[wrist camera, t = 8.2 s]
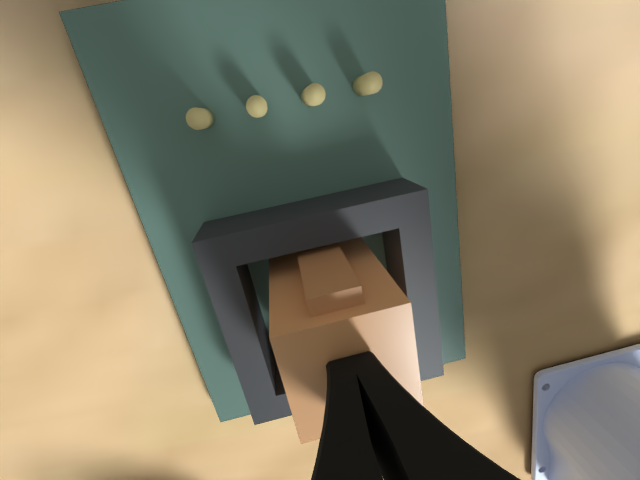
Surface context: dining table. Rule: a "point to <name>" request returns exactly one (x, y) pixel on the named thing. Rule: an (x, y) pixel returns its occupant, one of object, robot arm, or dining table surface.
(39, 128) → the dining table surface
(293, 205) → the header board
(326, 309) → the plug
